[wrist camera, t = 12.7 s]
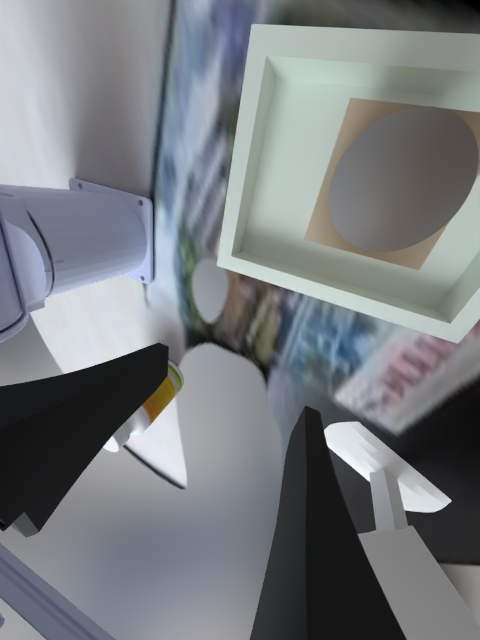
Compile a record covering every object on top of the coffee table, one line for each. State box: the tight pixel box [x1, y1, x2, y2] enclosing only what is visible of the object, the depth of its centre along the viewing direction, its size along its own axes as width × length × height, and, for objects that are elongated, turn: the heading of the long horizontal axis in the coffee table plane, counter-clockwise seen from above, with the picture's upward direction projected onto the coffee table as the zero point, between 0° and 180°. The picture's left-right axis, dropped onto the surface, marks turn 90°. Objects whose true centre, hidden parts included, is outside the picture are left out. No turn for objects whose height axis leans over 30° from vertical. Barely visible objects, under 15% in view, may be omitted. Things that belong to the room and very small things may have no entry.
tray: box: [217, 24, 480, 344], centre depth 13 cm, size 16×12×3 cm
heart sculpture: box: [324, 422, 480, 640], centre depth 15 cm, size 16×5×18 cm, turn 56°
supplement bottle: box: [103, 360, 184, 452], centre depth 25 cm, size 5×5×10 cm
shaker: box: [304, 98, 480, 270], centre depth 10 cm, size 4×4×9 cm
